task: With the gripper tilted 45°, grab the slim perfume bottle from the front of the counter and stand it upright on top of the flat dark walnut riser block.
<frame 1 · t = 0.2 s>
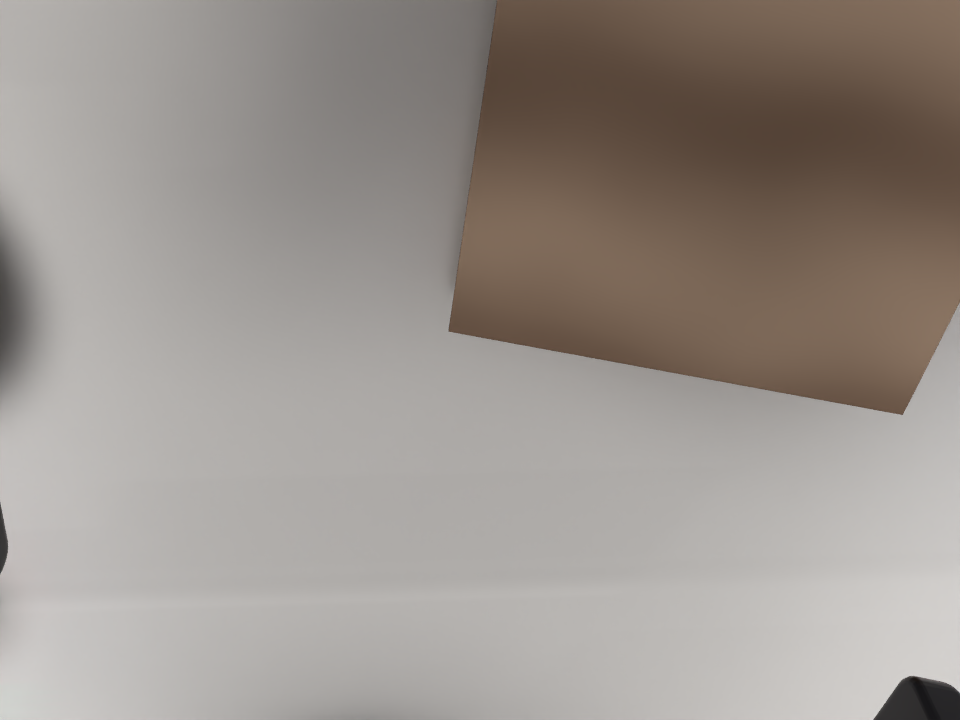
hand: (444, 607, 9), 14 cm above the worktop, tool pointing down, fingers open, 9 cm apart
walnut block: (730, 116, 21), on the worktop
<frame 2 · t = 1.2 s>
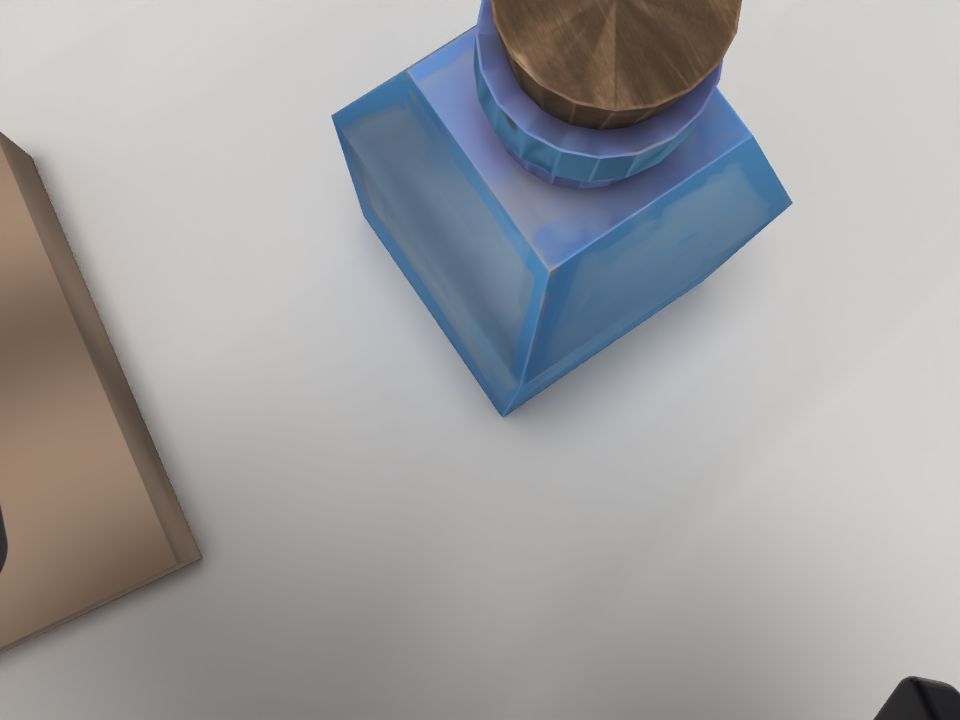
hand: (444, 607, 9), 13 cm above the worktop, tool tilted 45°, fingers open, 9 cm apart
perfume bottle: (533, 250, 23), on the worktop
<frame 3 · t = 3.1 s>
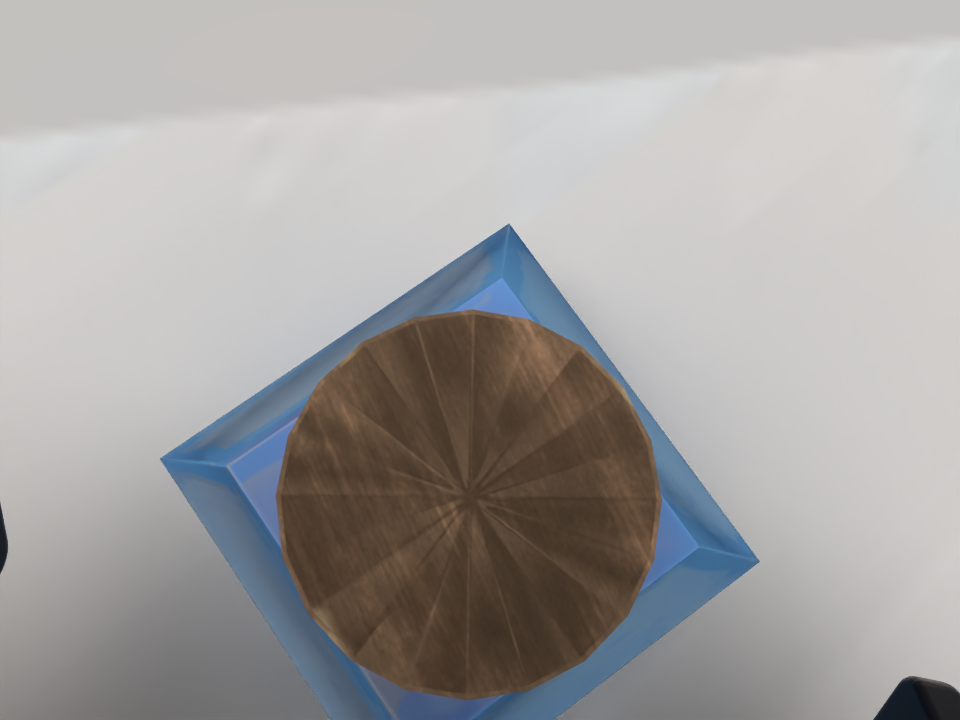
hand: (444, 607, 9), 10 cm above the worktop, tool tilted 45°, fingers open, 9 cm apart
perfume bottle: (456, 515, 20), on the worktop
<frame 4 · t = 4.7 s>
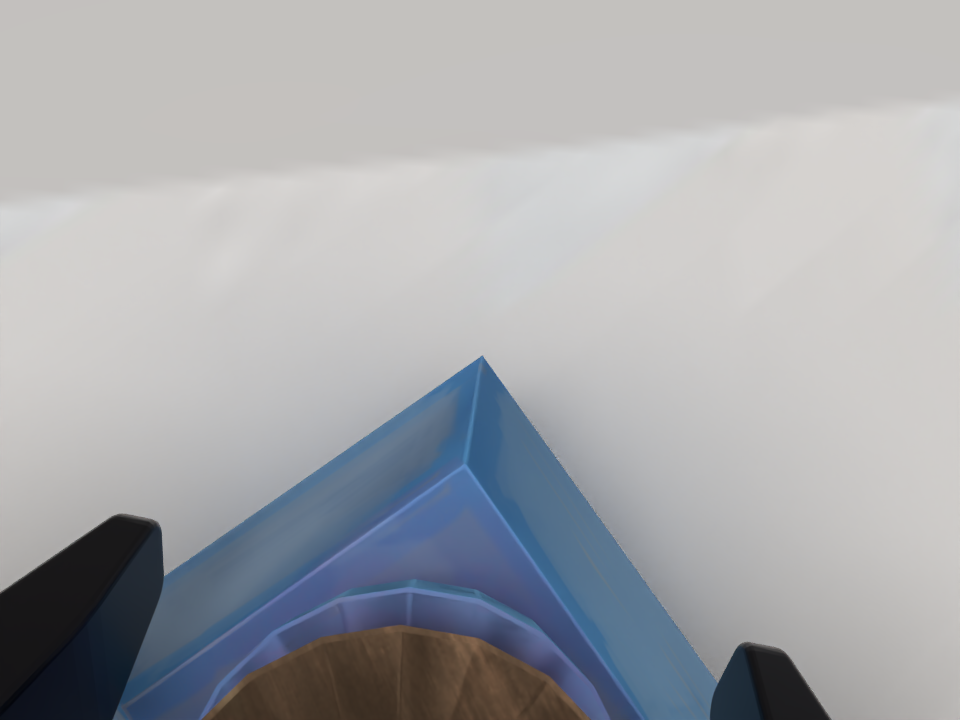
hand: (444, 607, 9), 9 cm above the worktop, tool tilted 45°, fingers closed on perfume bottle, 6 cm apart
perfume bottle: (432, 638, 17), on the worktop, touching gripper
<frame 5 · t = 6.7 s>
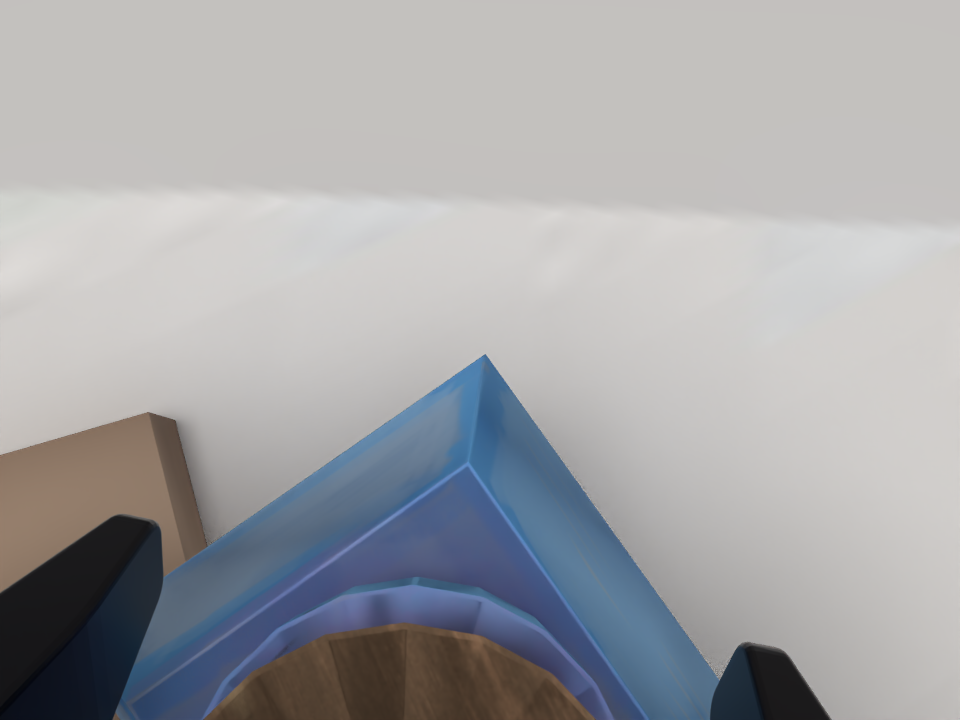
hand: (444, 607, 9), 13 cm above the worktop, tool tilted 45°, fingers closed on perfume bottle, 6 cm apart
perfume bottle: (435, 635, 18), point 4 cm above the worktop, touching gripper
walnut block: (9, 711, 22), on the worktop
when the fingers open (12 cm above the worktop, at t = 8.8 s): perfume bottle drops 2 cm, point 2 cm above the worktop.
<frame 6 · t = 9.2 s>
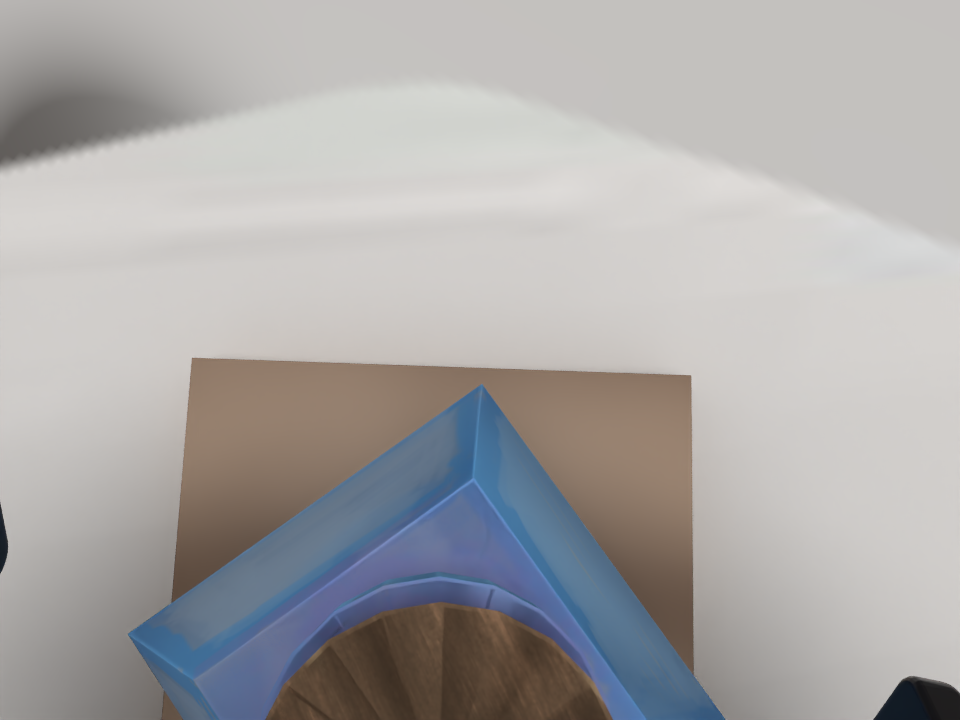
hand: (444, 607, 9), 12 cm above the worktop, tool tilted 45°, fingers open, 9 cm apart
perfume bottle: (430, 631, 19), point 2 cm above the worktop
walnut block: (435, 612, 22), on the worktop
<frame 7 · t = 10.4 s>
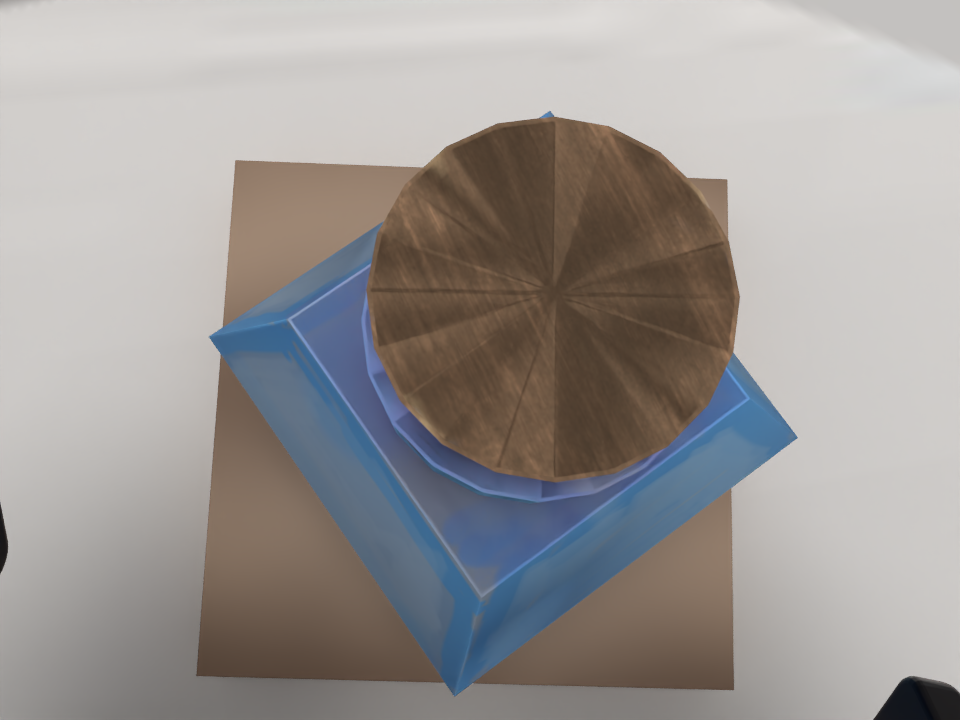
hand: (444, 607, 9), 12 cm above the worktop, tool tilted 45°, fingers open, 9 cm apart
perfume bottle: (483, 428, 20), point 2 cm above the worktop
walnut block: (472, 425, 22), on the worktop
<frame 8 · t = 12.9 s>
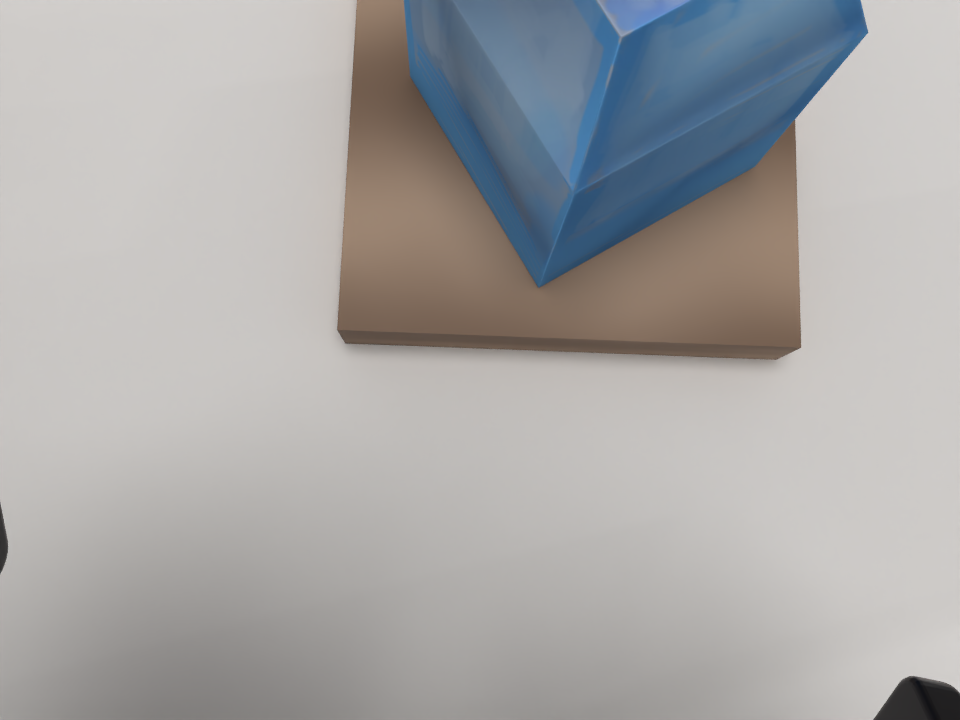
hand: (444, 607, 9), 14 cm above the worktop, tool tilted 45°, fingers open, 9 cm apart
perfume bottle: (580, 124, 23), point 1 cm above the worktop, touching walnut block
walnut block: (562, 158, 25), on the worktop, touching perfume bottle
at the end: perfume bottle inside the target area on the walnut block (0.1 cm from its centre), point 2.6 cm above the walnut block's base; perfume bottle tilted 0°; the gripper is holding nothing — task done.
